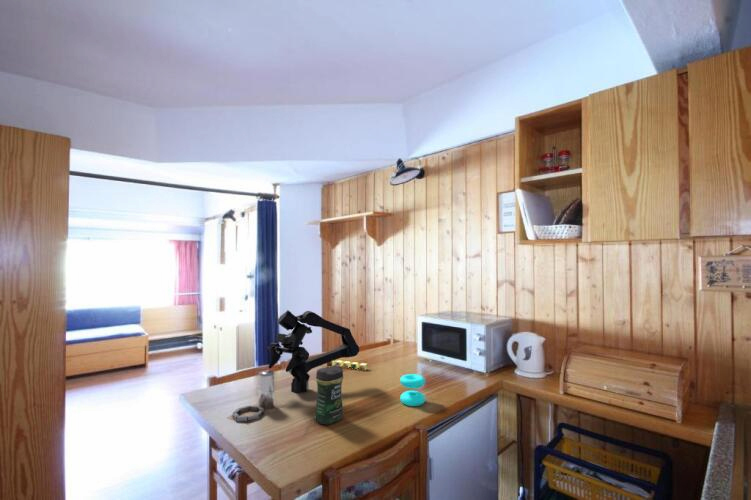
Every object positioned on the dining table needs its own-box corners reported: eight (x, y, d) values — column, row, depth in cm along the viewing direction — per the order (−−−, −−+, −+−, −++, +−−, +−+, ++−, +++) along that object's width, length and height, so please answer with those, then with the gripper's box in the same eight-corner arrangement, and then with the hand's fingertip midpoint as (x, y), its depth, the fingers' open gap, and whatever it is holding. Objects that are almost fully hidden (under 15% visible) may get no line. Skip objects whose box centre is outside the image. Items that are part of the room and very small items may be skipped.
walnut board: (266, 402, 138) (266, 399, 138) (287, 407, 133) (287, 404, 133) (226, 421, 122) (226, 417, 122) (247, 428, 116) (247, 424, 116)
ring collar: (267, 410, 128) (267, 406, 128) (255, 422, 118) (255, 417, 118) (241, 409, 129) (241, 405, 129) (227, 421, 119) (228, 416, 119)
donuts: (429, 379, 136) (407, 382, 132) (430, 404, 135) (407, 409, 131) (417, 371, 145) (395, 374, 141) (417, 395, 145) (396, 399, 141)
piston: (275, 404, 133) (276, 370, 134) (270, 410, 128) (270, 374, 128) (262, 403, 134) (262, 370, 134) (255, 409, 128) (256, 374, 129)
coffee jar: (326, 427, 116) (326, 372, 117) (311, 420, 122) (312, 367, 123) (347, 418, 123) (347, 366, 124) (332, 412, 129) (332, 362, 130)
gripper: (270, 323, 147) (250, 355, 137) (304, 327, 138) (284, 362, 128) (284, 338, 153) (265, 370, 143) (317, 342, 144) (299, 377, 134)
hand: (277, 369), depth 137 cm, fingers open, 9 cm apart
